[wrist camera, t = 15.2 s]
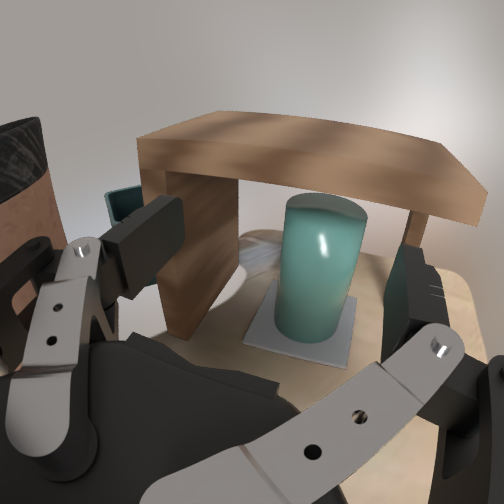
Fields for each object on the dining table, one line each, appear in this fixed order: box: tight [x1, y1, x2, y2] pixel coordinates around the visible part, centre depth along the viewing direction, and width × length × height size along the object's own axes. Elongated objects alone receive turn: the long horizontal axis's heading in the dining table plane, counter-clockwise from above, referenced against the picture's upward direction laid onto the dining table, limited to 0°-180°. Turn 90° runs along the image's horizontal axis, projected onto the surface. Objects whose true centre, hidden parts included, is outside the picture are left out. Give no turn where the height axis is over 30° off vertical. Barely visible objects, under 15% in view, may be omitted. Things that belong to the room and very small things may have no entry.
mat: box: [243, 280, 357, 369], centre depth 28 cm, size 9×9×1 cm
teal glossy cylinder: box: [274, 193, 368, 344], centre depth 25 cm, size 6×6×11 cm
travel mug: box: [0, 117, 68, 371], centre depth 14 cm, size 8×8×20 cm
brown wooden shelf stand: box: [137, 111, 488, 341], centre depth 24 cm, size 20×12×17 cm, turn 70°
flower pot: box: [104, 185, 157, 287], centre depth 32 cm, size 9×9×9 cm
